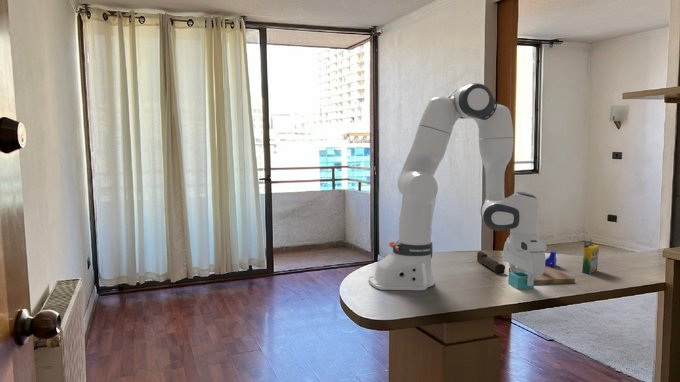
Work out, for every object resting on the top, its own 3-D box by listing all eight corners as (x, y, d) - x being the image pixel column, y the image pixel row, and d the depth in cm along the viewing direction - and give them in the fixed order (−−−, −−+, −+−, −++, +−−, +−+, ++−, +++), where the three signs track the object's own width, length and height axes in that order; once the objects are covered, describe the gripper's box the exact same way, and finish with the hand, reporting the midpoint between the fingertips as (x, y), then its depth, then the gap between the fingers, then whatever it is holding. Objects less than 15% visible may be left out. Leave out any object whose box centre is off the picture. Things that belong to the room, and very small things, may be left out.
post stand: (532, 284, 168) (534, 257, 167) (508, 271, 183) (510, 246, 182) (574, 282, 170) (576, 256, 169) (547, 270, 186) (549, 245, 185)
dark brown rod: (505, 274, 180) (506, 262, 180) (494, 274, 180) (495, 262, 179) (484, 261, 199) (484, 250, 198) (474, 261, 198) (475, 250, 198)
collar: (517, 289, 162) (518, 277, 162) (508, 283, 168) (508, 272, 168) (533, 288, 163) (534, 276, 163) (524, 283, 169) (524, 271, 169)
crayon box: (590, 274, 181) (592, 243, 180) (581, 272, 184) (583, 242, 182) (597, 270, 186) (599, 240, 185) (589, 269, 188) (591, 239, 187)
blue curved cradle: (555, 265, 194) (557, 250, 193) (553, 267, 190) (554, 252, 189) (524, 260, 201) (525, 246, 200) (521, 262, 197) (522, 248, 196)
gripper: (499, 234, 174) (497, 272, 175) (531, 247, 154) (529, 290, 155) (515, 234, 175) (513, 271, 176) (550, 247, 155) (547, 289, 156)
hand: (521, 280), depth 166 cm, fingers open, 8 cm apart
